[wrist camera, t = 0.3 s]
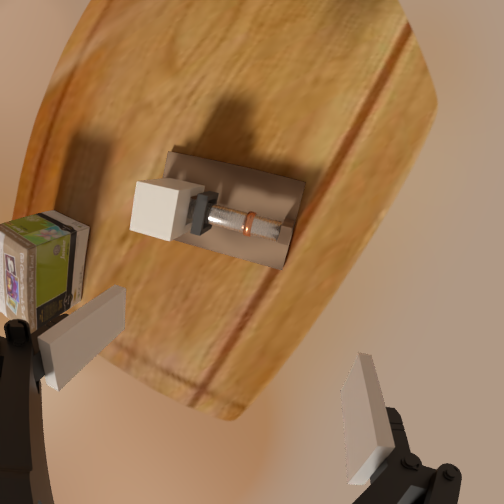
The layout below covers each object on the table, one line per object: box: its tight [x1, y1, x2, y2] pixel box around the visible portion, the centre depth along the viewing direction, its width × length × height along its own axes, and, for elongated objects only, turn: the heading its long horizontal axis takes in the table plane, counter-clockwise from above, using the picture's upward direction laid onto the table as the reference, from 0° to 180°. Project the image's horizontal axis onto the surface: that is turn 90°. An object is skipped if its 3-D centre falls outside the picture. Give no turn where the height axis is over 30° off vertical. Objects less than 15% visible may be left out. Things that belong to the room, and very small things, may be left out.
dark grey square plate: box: [190, 191, 219, 236], centre depth 37 cm, size 5×1×5 cm, turn 167°
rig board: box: [163, 152, 306, 270], centre depth 39 cm, size 12×19×7 cm, turn 77°
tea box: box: [0, 210, 90, 333], centre depth 42 cm, size 15×10×15 cm, turn 161°
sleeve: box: [130, 178, 205, 241], centre depth 36 cm, size 5×5×9 cm
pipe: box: [187, 198, 282, 242], centre depth 36 cm, size 3×16×3 cm, turn 77°
